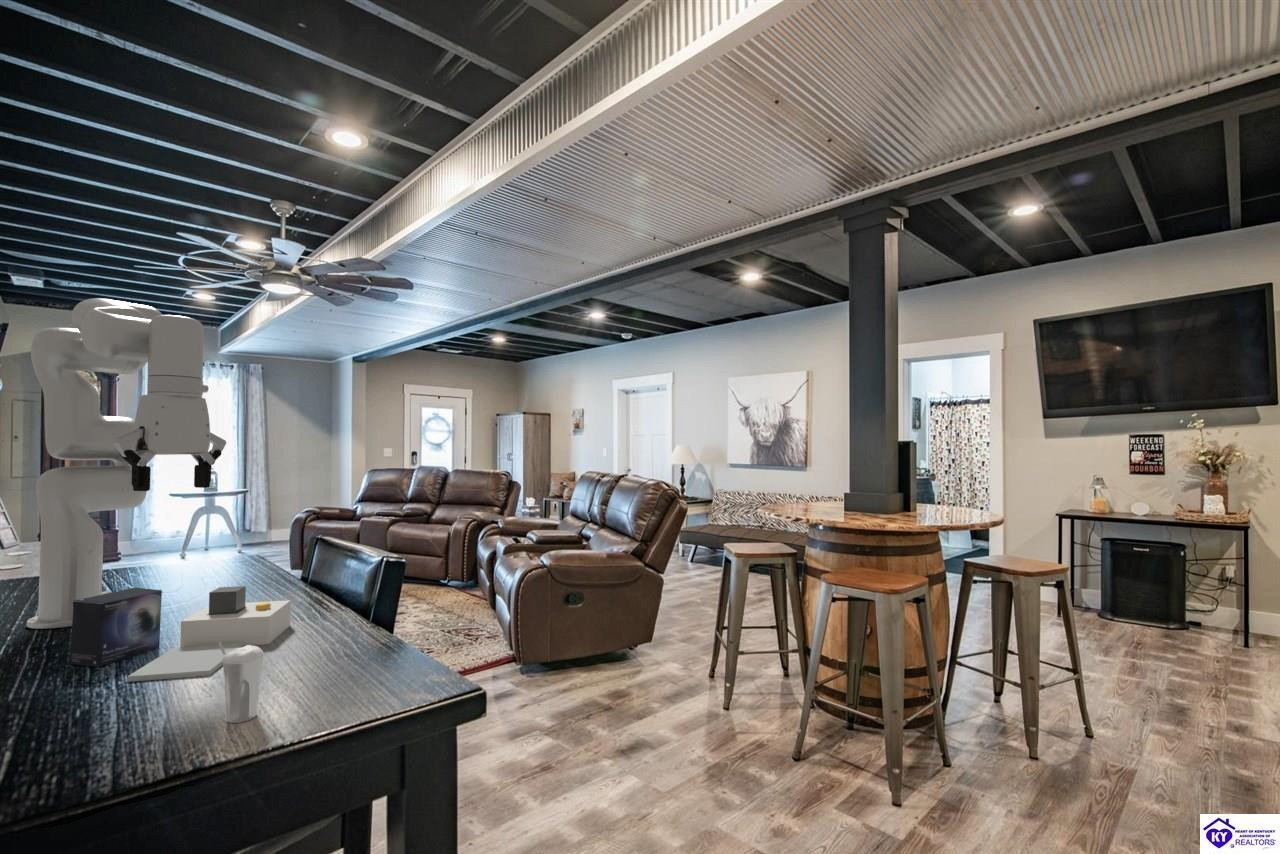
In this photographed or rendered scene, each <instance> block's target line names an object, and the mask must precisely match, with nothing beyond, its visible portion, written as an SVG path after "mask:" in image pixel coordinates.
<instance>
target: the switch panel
mask: <svg viewBox="0 0 1280 854" xmlns="http://www.w3.org/2000/svg"><path fill="white" fill-rule="evenodd" d="M291 605H292V600H290V599H289V600H276V601H275V600H272V601H271V600H269V601H254V602H253V601H252V602H245V609H243V610H242V611H240V612H239V613H236V614H218V615H209V605H207V606H206V607H204V608H202V609H201V610H199V611H197V612H195V613H193V614H191V615H190V616H188V617H186V618H183V620H181V621H180V642H179V643H180V644H179V647H188V646H204V645H219V644H218V642H221V644H235V643H245V646H247V645H251V646H259V645H260V646H262V645H269V644H271V643H272V642H274V640H276V639H277V638H278V637H279V636H280V635H281V634H282V633H284V632H285V631H286V630H287V629H288V628H289V627H290V626H291V613H292V612H291V610H292V609H291V607H292V606H291Z"/></svg>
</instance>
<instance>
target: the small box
mask: <svg viewBox="0 0 1280 854" xmlns="http://www.w3.org/2000/svg"><path fill="white" fill-rule="evenodd" d="M162 595H163V590H162V589H152V588H145V587H143V588H142V587H131V588H127V589H122V590H117V591H112V592H109V593H107V594H103V595H98V596H93V597H88V598H83V599H79V600H74V601H73V619H72V626H71V638H70V639H71V640H70V654H69V661H68V664H69V665H75V666H85V667H93V668H94V667H95V668H98V667H102V666H106V665H109V664H111V663H115V662H118V661H121V660H125V659H127V658H131V657H134V656H138V655H140V654H144V653H147V652H150V651H154V650H156V649H160V641H161V640H160V639H161V637H160V635H161V618H162V617H161V616H162V599H163V598H162Z"/></svg>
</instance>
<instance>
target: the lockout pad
mask: <svg viewBox="0 0 1280 854" xmlns="http://www.w3.org/2000/svg"><path fill="white" fill-rule="evenodd" d="M244 646H245V643H235V644H222V647H223V649H224V651H225V654H227V653H228V652H230V651H233V650H234V649H236V648H242V647H244ZM223 657H224V655H223V653H222V651H221V648H220V646H219V645H204V646H188V647H180V646H174V647H172V648H171V649H169V650H168V651H166V652H164V653H163V654H161V655H160V656H158V657H156V658H155V659H153V660H151V661H149V662H148V663H146V664H145V665H143V666H142V667H141V668H138V669H137V670H135V671H133V672H132V673H131V674H129V675H127V677H126V680H127V683H129V682H141V681H143V682H144V681H156V680H157V681H158V680H169V679H180V678H183V679H184V678H195V677H209V676H211V675H213V674H214V673H215V672H216V671H218V669H220V668H221V667H223V661H222V659H223Z"/></svg>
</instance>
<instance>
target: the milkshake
mask: <svg viewBox="0 0 1280 854" xmlns="http://www.w3.org/2000/svg"><path fill="white" fill-rule="evenodd" d="M218 644H219V646H220V648H221V651H222V653H223V655H224V657H223V659H222V661H223V665H222V668H223V669H222V670H223V681H224V695H225V697H224V698H225V713H226V714H225V715H226V722H228V723H230V724H240V723H241V724H242V723H246V722H249V721H250V720H252V719H255V718H256V716H257V714H258V713H257V711H258V701H259V693H260V685H261V684H260V683H261V676H262V669H263V660H264V655H265V653H264V651H263V650H262V649H261V647H259V646H258V645H247V646H244V647H242V648H236V649H234V650H233V651H230V652H228V653H227V654H225V651H224V649H223V647H222V644H221V642H218Z"/></svg>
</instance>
